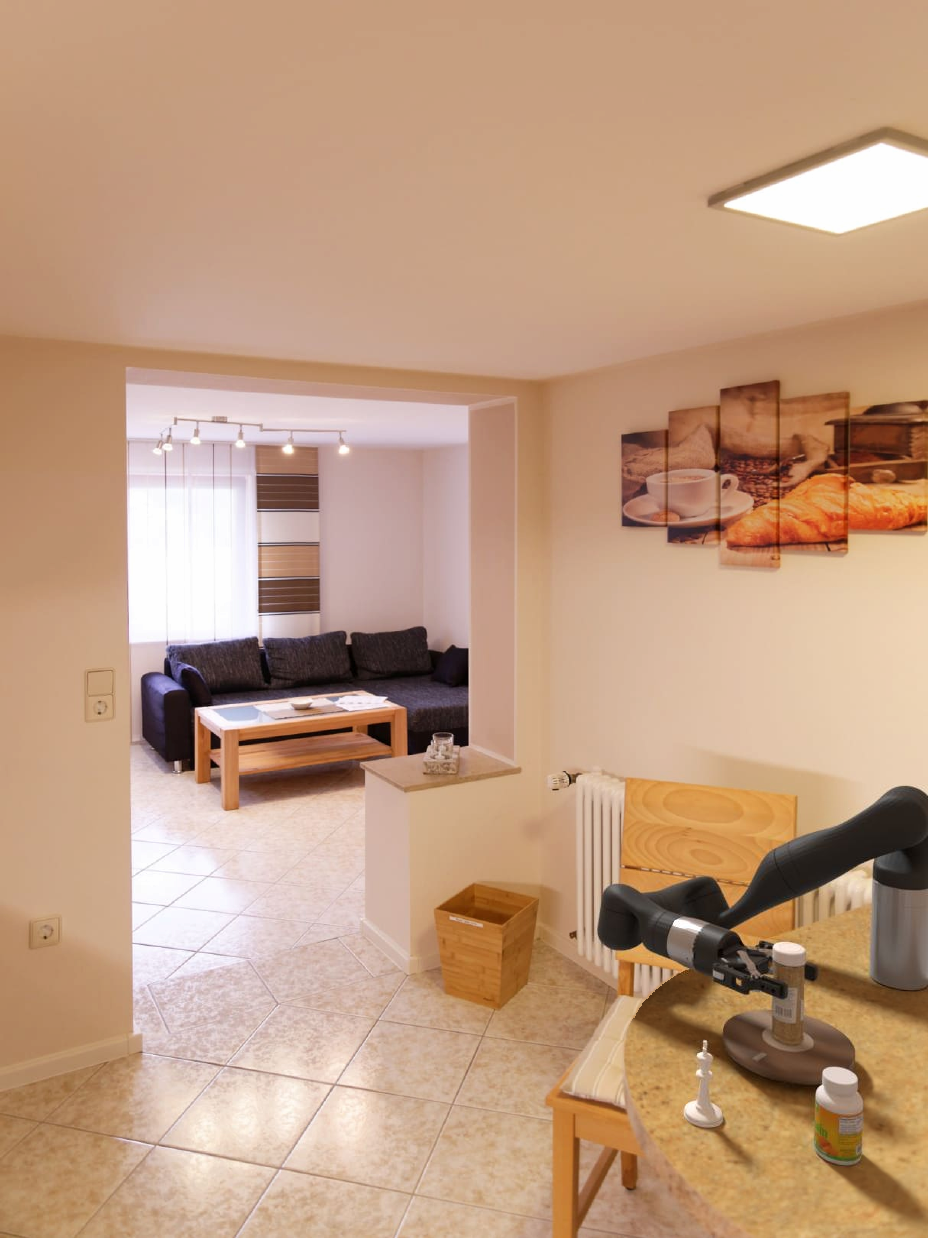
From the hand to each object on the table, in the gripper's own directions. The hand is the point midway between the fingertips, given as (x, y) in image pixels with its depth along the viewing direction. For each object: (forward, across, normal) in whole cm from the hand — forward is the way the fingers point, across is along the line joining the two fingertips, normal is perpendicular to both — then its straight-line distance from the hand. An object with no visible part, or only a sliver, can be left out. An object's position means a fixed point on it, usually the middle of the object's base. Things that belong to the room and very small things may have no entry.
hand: (801, 983), depth 132 cm
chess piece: (-2, +21, -12) cm, 24 cm away
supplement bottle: (+13, +15, -12) cm, 23 cm away
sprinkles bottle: (-2, 0, -9) cm, 9 cm away
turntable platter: (-2, 0, -10) cm, 11 cm away
